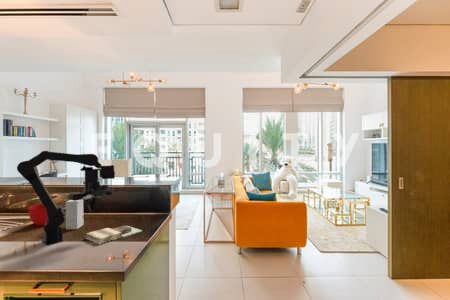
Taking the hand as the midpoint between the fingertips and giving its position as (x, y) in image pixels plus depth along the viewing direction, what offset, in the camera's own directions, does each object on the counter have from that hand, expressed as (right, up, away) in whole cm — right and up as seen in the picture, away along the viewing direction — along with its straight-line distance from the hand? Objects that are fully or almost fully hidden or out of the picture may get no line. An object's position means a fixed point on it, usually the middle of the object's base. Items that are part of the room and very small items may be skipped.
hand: (91, 211), depth 124 cm
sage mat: (+14, -12, +8) cm, 20 cm away
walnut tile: (+13, -12, +5) cm, 18 cm away
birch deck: (+7, -12, -2) cm, 14 cm away
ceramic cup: (-37, -12, +21) cm, 44 cm away
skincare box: (-16, -12, +14) cm, 24 cm away
